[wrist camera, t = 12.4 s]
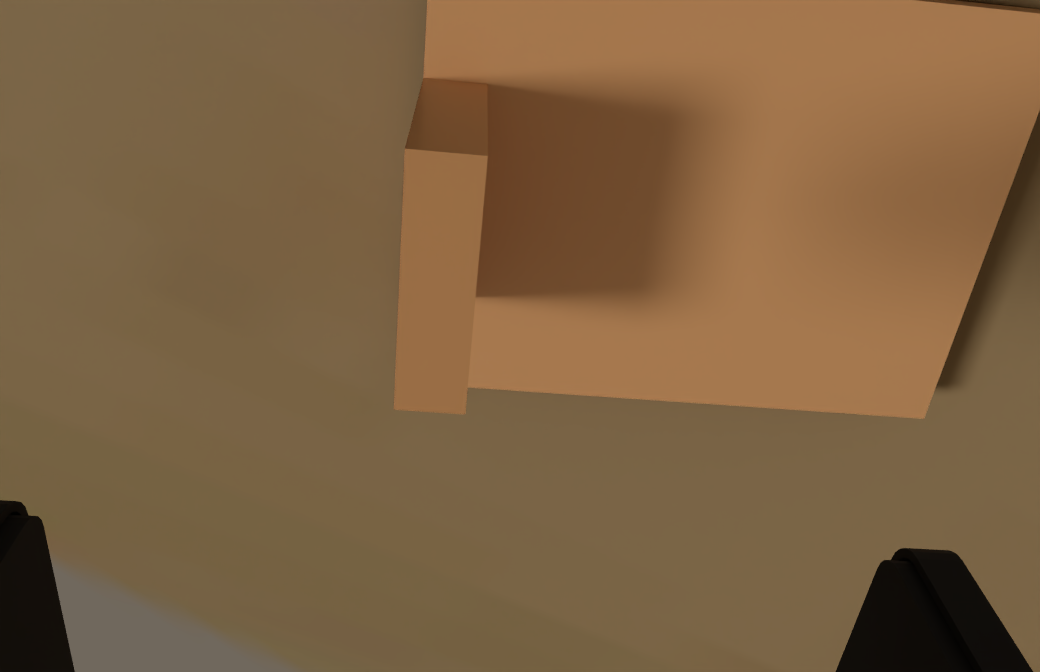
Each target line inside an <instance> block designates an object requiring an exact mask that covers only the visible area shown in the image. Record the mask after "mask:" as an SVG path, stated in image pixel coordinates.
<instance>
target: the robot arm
mask: <svg viewBox="0 0 1040 672" xmlns="http://www.w3.org/2000/svg"><path fill="white" fill-rule="evenodd" d="M0 672H75V671H74V667H73V662H72V657H71V653H70V648H69V643H68V638H67V634H66V629H65V624H64V620H63V615H62V611H61V605H60V601H59V596H58V591H57V587H56V582H55V577H54V573H53V568H52V563H51V559H50V554H49V549H48V545H47V540H46V535H45V530H44V526H43V523H42V520H41V519H40V518H39V517H38V516H28V513H27V510H26V507H25V506H24V505H23V504H22V503H21V502H17V501H2V500H0ZM836 672H1033V671H1032V669H1031V668H1030V666H1029V665H1028V663H1027V661H1026V660H1025V658H1024V657H1023V655H1022V654H1021V652H1020V650H1019V649H1018V647H1017V646H1016V644H1015V643H1014V641H1013V639H1012V638H1011V636H1010V635H1009V633H1008V632H1007V630H1006V628H1005V627H1004V625H1003V624H1002V622H1001V621H1000V619H999V617H998V616H997V614H996V613H995V611H994V610H993V608H992V606H991V605H990V603H989V602H988V600H987V599H986V597H985V595H984V594H983V592H982V591H981V589H980V588H979V586H978V584H977V583H976V581H975V580H974V578H973V577H972V575H971V573H970V572H969V570H968V569H967V567H966V566H965V564H964V562H963V561H962V560H961V559H960V557H959V556H958V555H957V554H956V553H954V552H952V551H948V550H929V549H910V548H902V549H899V550H898V551H897V552H895V554H894V555H893V557H892V559H891V560H884V561H883V562H881V563H880V565H879V567H878V568H877V571H876V573H875V576H874V578H873V581H872V583H871V586H870V588H869V591H868V593H867V595H866V598H865V600H864V603H863V605H862V608H861V610H860V613H859V615H858V618H857V620H856V623H855V625H854V628H853V630H852V633H851V635H850V638H849V640H848V643H847V645H846V647H845V650H844V652H843V655H842V657H841V660H840V662H839V665H838V667H837V670H836Z"/></svg>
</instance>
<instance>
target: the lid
mask: <svg viewBox="0 0 1040 672" xmlns="http://www.w3.org/2000/svg"><path fill="white" fill-rule="evenodd" d="M1039 111H1040V9H1031V8H1022V7H1013V6H1003V5H994V4H984V3H975V2H966V1H956V0H427V20H426V40H425V59H424V78H423V82H422V86H421V90H420V93H419V97H418V101H417V105H416V109H415V112H414V116H413V120H412V124H411V128H410V132H409V135H408V139H407V143H406V147H405V160H404V184H403V207H402V231H401V254H400V278H399V301H398V325H397V348H396V372H395V395H394V410H407V411H422V412H437V413H452V414H465V412H466V401H467V389H468V387H470V388H484V389H499V390H513V391H528V392H542V393H557V394H571V395H586V396H601V397H615V398H630V399H644V400H659V401H673V402H688V403H702V404H717V405H731V406H746V407H761V408H775V409H790V410H804V411H819V412H833V413H848V414H862V415H877V416H892V417H906V418H921V419H924V417H925V415H926V412H927V409H928V407H929V404H930V401H931V399H932V396H933V393H934V391H935V388H936V385H937V383H938V380H939V377H940V375H941V372H942V369H943V367H944V364H945V361H946V359H947V356H948V353H949V351H950V348H951V345H952V343H953V340H954V337H955V335H956V332H957V329H958V327H959V324H960V321H961V319H962V316H963V313H964V311H965V308H966V305H967V303H968V300H969V297H970V295H971V292H972V289H973V287H974V284H975V281H976V279H977V276H978V273H979V271H980V268H981V265H982V263H983V260H984V257H985V255H986V252H987V249H988V247H989V244H990V241H991V239H992V236H993V233H994V231H995V228H996V225H997V223H998V220H999V217H1000V215H1001V212H1002V209H1003V207H1004V204H1005V201H1006V199H1007V196H1008V193H1009V191H1010V188H1011V185H1012V183H1013V180H1014V177H1015V175H1016V172H1017V169H1018V167H1019V164H1020V161H1021V159H1022V156H1023V153H1024V151H1025V148H1026V145H1027V143H1028V140H1029V137H1030V135H1031V132H1032V129H1033V127H1034V124H1035V121H1036V119H1037V116H1038V113H1039Z"/></svg>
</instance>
